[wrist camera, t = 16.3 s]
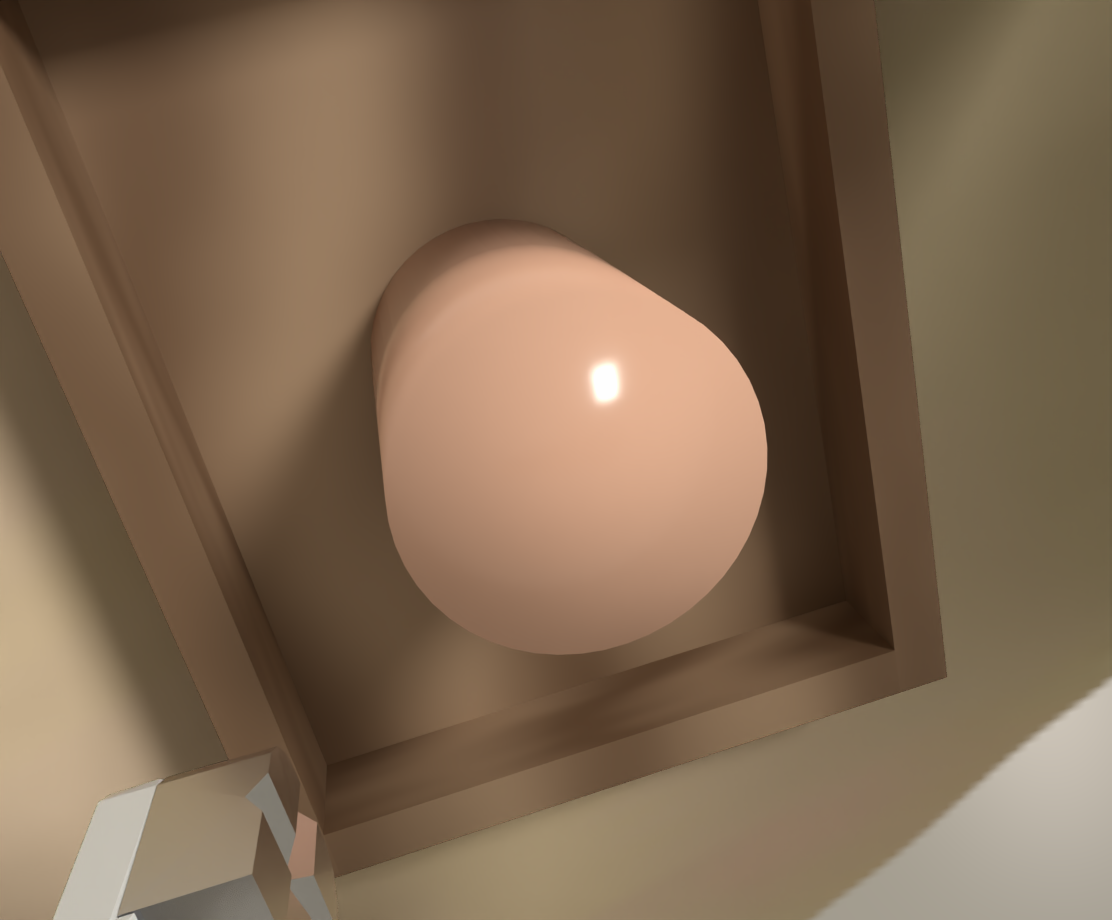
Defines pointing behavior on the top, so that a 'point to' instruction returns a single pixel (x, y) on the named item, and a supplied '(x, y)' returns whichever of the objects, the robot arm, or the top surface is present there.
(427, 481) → the peach rounded capsule
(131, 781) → the top surface
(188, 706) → the top surface
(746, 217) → the tray
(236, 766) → the robot arm
